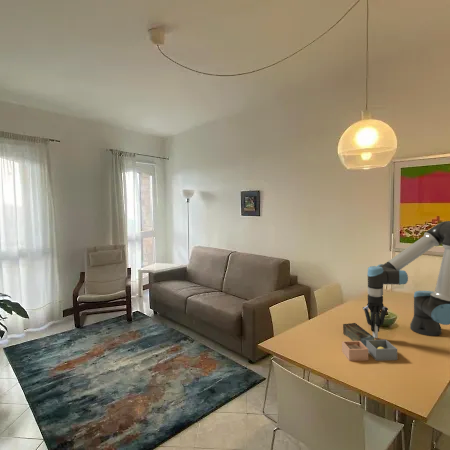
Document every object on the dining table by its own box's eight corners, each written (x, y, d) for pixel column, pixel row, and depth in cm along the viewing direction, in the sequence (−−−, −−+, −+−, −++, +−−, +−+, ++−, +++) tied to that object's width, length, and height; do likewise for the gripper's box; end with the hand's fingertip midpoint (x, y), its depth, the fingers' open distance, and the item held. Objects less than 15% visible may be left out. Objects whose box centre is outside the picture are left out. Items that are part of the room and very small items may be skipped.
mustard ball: (383, 353, 150) (383, 345, 150) (387, 357, 146) (387, 349, 146) (375, 353, 150) (375, 345, 150) (379, 357, 146) (379, 349, 146)
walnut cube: (355, 353, 151) (355, 344, 150) (361, 357, 146) (361, 348, 146) (347, 354, 150) (347, 345, 149) (353, 358, 145) (353, 349, 145)
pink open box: (359, 352, 152) (359, 340, 152) (368, 361, 144) (368, 349, 143) (342, 352, 153) (341, 341, 152) (349, 362, 144) (349, 349, 143)
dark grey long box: (360, 349, 156) (360, 337, 156) (342, 333, 175) (342, 322, 175) (375, 348, 157) (375, 335, 156) (355, 333, 176) (355, 321, 175)
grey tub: (386, 351, 153) (386, 339, 153) (397, 361, 143) (397, 348, 143) (366, 351, 153) (366, 340, 153) (376, 361, 143) (376, 349, 143)
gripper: (383, 292, 168) (383, 333, 170) (360, 293, 168) (360, 334, 170) (391, 296, 161) (390, 339, 162) (366, 297, 161) (366, 340, 162)
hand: (375, 337), depth 166 cm, fingers closed
